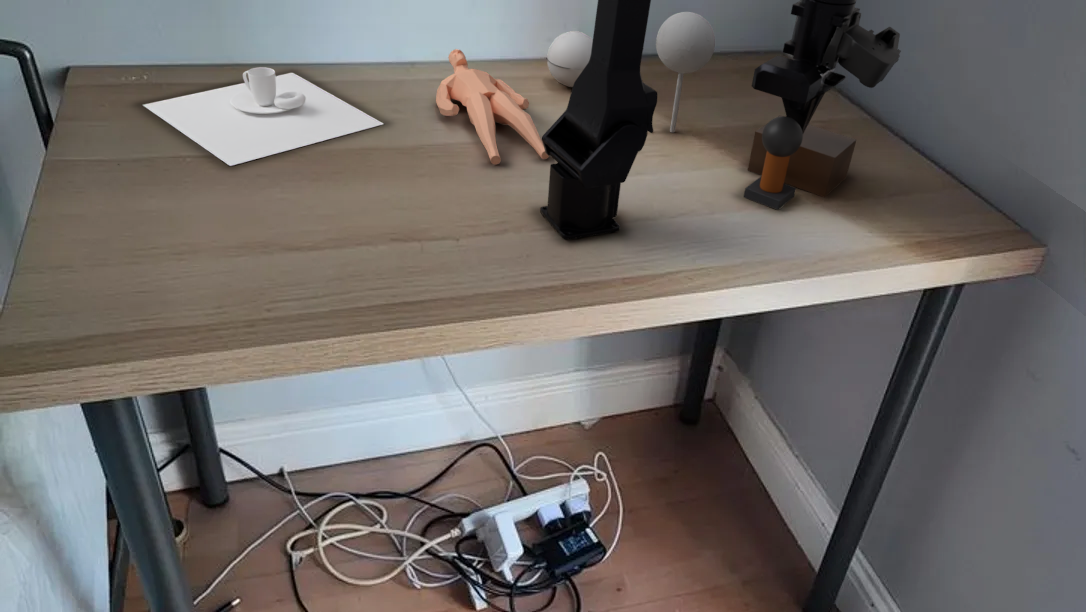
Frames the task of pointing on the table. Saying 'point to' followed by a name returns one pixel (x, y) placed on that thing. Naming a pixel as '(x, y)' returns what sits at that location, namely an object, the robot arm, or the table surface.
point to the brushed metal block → (811, 160)
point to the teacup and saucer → (261, 116)
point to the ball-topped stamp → (776, 163)
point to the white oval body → (569, 56)
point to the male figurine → (486, 105)
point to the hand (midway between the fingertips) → (796, 135)
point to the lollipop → (684, 48)
